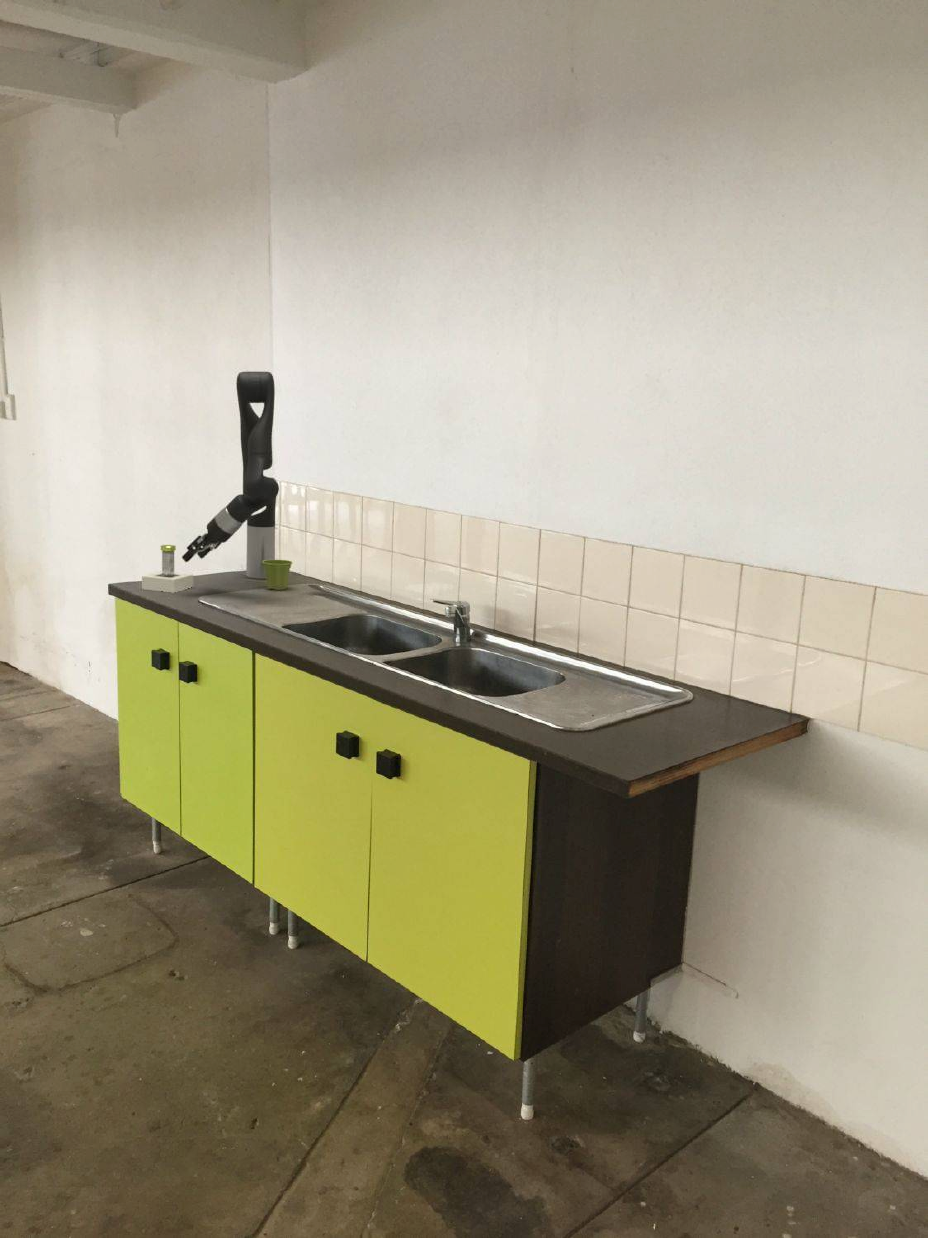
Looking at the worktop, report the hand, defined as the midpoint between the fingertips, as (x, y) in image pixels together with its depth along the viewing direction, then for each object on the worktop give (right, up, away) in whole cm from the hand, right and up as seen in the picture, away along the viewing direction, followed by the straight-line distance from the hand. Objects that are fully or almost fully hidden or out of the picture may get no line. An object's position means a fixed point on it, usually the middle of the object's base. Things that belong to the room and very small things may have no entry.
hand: (192, 558), depth 316 cm
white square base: (-9, -9, +4) cm, 13 cm away
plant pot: (+23, -9, +14) cm, 29 cm away
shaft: (-8, -9, +4) cm, 13 cm away
